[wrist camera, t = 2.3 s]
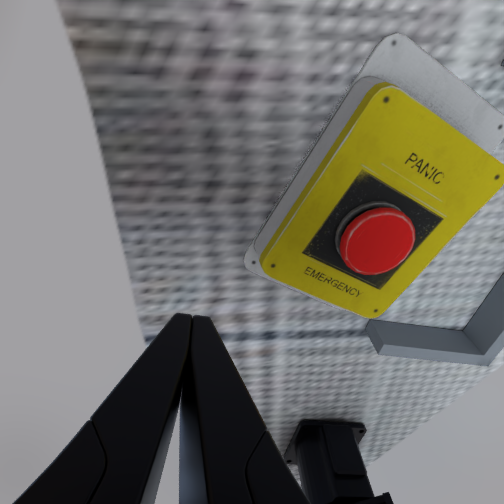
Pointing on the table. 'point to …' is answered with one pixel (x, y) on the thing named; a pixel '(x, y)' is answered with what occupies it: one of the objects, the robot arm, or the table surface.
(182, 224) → the table surface
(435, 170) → the emergency button
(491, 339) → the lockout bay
